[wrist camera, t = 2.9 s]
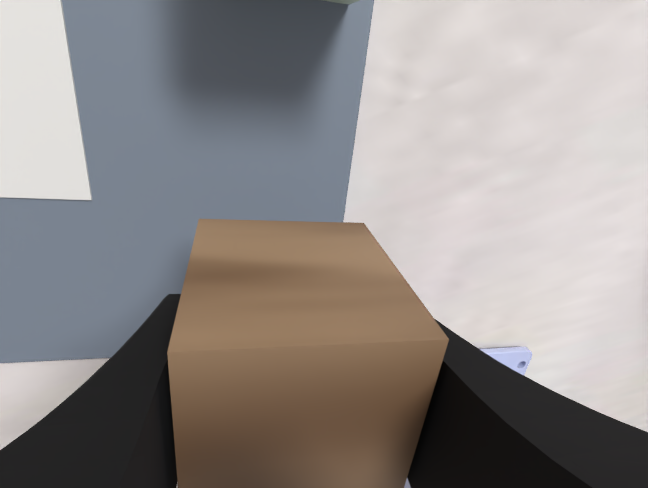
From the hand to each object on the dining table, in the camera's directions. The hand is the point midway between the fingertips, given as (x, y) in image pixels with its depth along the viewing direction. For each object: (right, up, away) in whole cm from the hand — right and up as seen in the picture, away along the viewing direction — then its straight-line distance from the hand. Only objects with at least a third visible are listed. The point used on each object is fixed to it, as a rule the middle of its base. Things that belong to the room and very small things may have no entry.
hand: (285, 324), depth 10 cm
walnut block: (0, +1, +1) cm, 2 cm away
